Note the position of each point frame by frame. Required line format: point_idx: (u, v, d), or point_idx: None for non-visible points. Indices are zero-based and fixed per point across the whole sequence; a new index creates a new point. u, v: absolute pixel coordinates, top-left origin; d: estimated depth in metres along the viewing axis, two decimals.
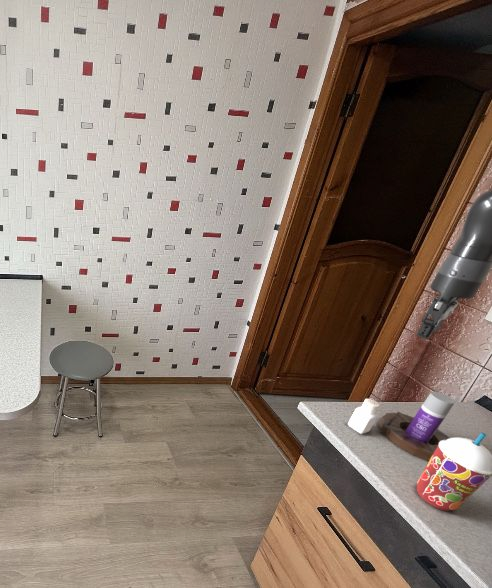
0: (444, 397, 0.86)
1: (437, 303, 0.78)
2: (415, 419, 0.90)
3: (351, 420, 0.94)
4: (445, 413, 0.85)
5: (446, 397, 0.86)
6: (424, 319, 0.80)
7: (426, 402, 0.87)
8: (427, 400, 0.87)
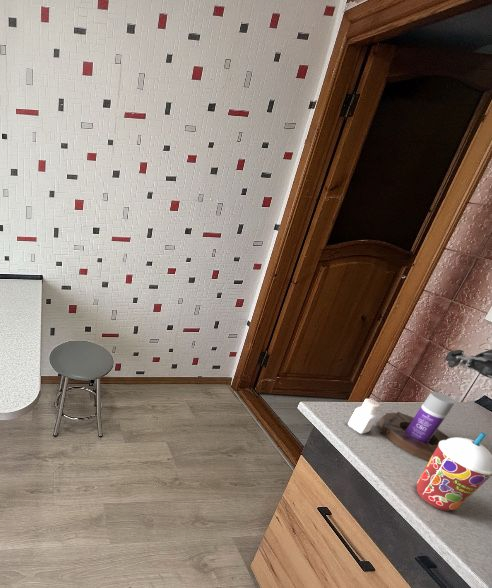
0: (444, 397, 0.86)
1: None
2: (415, 419, 0.90)
3: (351, 420, 0.94)
4: (445, 413, 0.85)
5: (446, 397, 0.86)
6: None
7: (426, 402, 0.87)
8: (427, 400, 0.87)
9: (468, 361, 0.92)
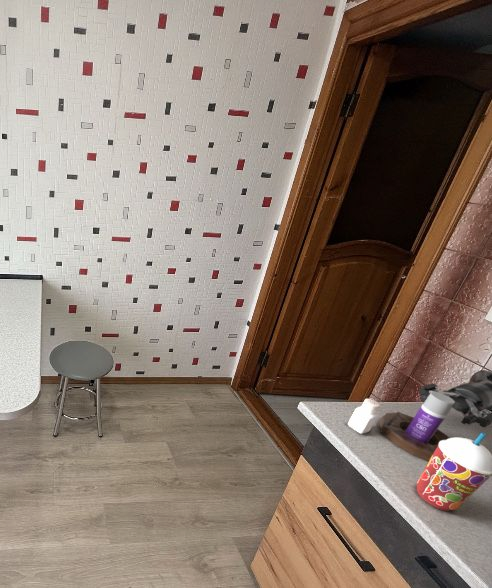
0: (444, 397, 0.86)
1: None
2: (415, 419, 0.90)
3: (351, 420, 0.94)
4: (445, 413, 0.85)
5: (446, 397, 0.86)
6: None
7: (426, 402, 0.87)
8: (427, 400, 0.87)
9: None
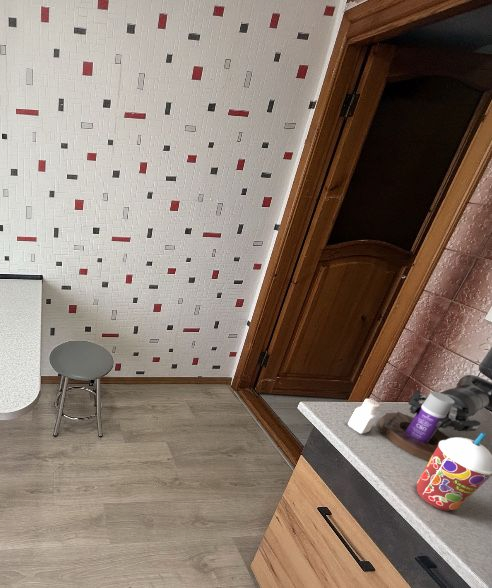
0: (444, 397, 0.86)
1: (413, 394, 0.96)
2: (415, 419, 0.90)
3: (351, 420, 0.94)
4: (445, 413, 0.85)
5: (446, 397, 0.86)
6: None
7: (426, 402, 0.87)
8: (427, 400, 0.87)
9: None
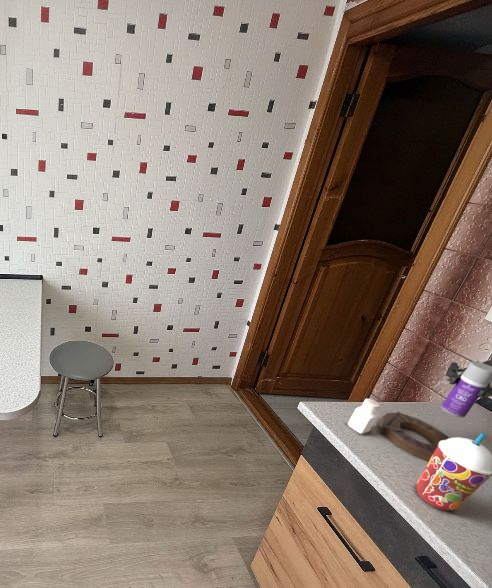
0: (485, 366, 0.84)
1: (449, 366, 0.95)
2: (454, 390, 0.89)
3: (351, 420, 0.94)
4: (487, 382, 0.84)
5: (487, 366, 0.84)
6: None
7: (466, 372, 0.86)
8: (467, 370, 0.86)
9: None
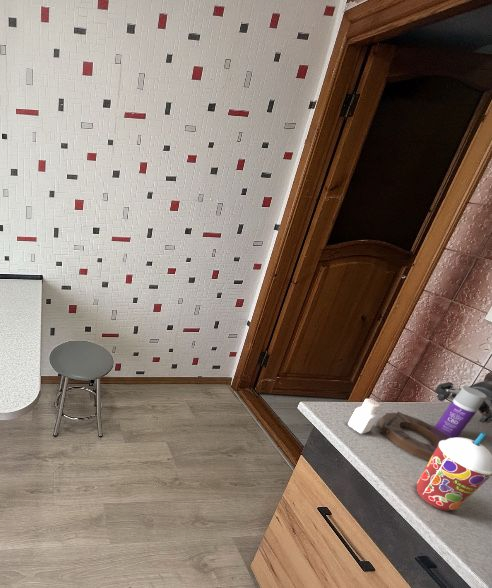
0: (476, 392, 0.89)
1: None
2: (446, 413, 0.93)
3: (351, 420, 0.94)
4: (477, 407, 0.88)
5: (478, 392, 0.89)
6: (436, 390, 0.99)
7: (458, 396, 0.91)
8: (459, 395, 0.91)
9: None
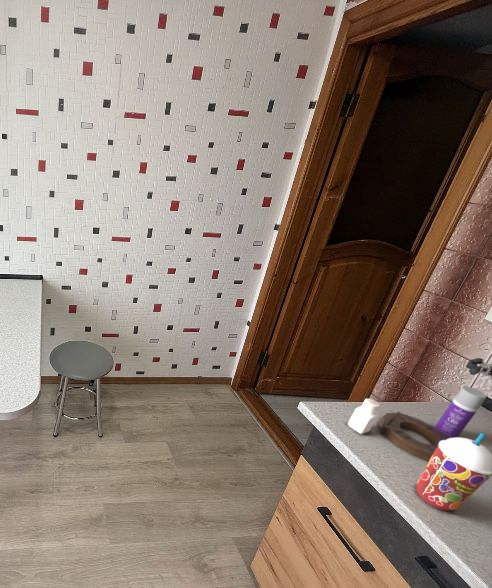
0: (476, 392, 0.89)
1: None
2: (446, 413, 0.93)
3: (351, 420, 0.94)
4: (477, 407, 0.88)
5: (478, 392, 0.89)
6: None
7: (458, 396, 0.91)
8: (459, 395, 0.91)
9: (488, 369, 0.97)
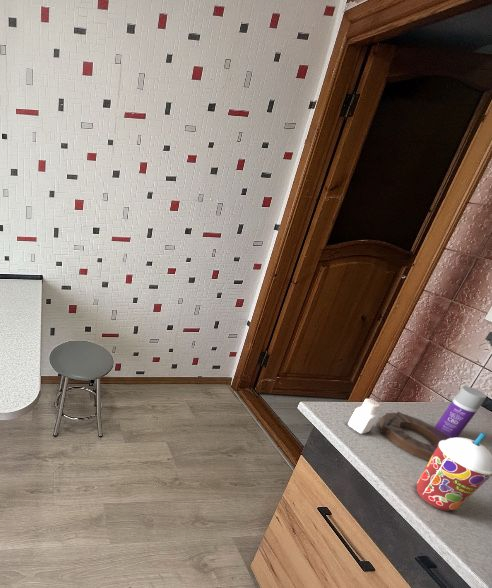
0: (476, 392, 0.89)
1: None
2: (446, 413, 0.93)
3: (351, 420, 0.94)
4: (477, 407, 0.88)
5: (478, 392, 0.89)
6: (486, 337, 0.97)
7: (458, 396, 0.91)
8: (459, 395, 0.91)
9: None
